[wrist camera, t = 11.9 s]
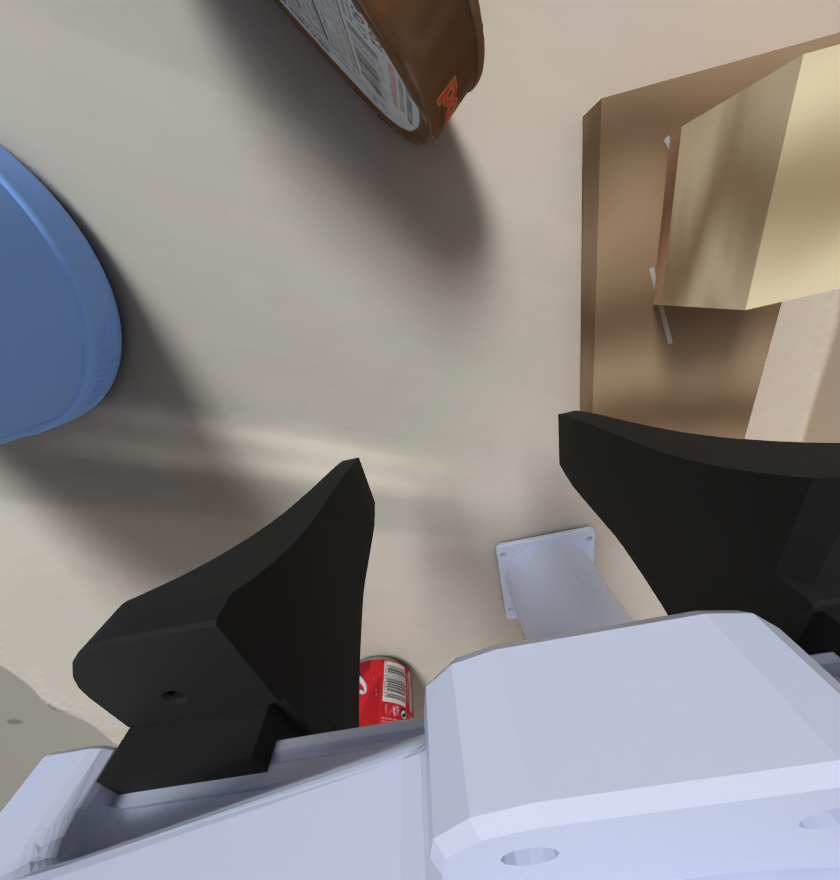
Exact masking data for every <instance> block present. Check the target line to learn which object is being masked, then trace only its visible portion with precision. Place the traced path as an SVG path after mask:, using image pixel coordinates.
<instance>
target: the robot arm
mask: <svg viewBox="0 0 840 880" xmlns="http://www.w3.org/2000/svg"><path fill="white" fill-rule="evenodd" d="M558 419H559V460H560V466H561V467H562V469H563V471H564V473H565V474H566V476H567V478H568V479H569V481H570V482H571V484H572V485H573V487H574V488H575V489H576V490H577V492H578V493H579V494H580V495H581V496H582V498H583V499H584V500H585V501H586V502H587V504H588V505H589V506H590V507H591V508H592V509H593V511H594V512H595V513H596V514H597V515H598V516H599V518H600V519H601V520H602V521H603V522H604V523H605V525H606V526H607V527H608V528H609V529H610V530H611V532H612V533H613V534H614V535H615V536H616V538H617V539H618V540H619V542H620V543H621V544H622V545H623V547H624V548H625V550H626V551H627V553H628V554H629V556H630V557H631V559H632V560H633V561H634V563H635V564H636V566H637V567H638V569H639V570H640V572H641V573H642V575H643V576H644V578H645V579H646V581H647V582H648V584H649V586H650V587H651V589H652V590H653V592H654V593H655V595H656V596H657V598H658V600H659V601H660V603H661V604H662V606H663V608H664V609H665V611H666V613H667V614H668V616H662V617H656V618H650V619H644V620H639V621H632V620H631V618H630V617H629V615H628V614H627V612H626V611H625V610H624V608H623V607H622V605H621V604H620V602H619V601H618V599H617V598H616V596H615V595H614V593H613V592H612V590H611V589H610V588H609V586H608V585H607V583H606V582H605V580H604V579H603V577H602V576H601V574H600V573H599V571H598V570H597V568H596V567H595V565H594V549H595V531H594V530H593V528H592V527H583V528H578V529H572V530H567V531H562V532H557V533H552V534H546V535H541V536H536V537H531V538H526V539H520V540H515V541H510V542H505V543H500V544H498V545H497V546H496V547H495V550H496V557H497V563H498V570H499V576H500V583H501V589H502V596H503V602H504V609H505V614H506V617H507V618H508V619H516V618H518V620H519V623H520V626H521V629H522V632H523V635H524V638H525V640H523V641H517V642H511V643H505V644H499V645H494V646H491V647H488V648H485V649H482V650H479V651H476V652H473V653H470V654H467V655H464V656H461V657H458V658H456V659H455V660H454V661H452V662H451V663H450V664H449V665H448V666H447V667H446V668H445V669H444V670H442V671H441V672H440V673H439V674H438V675H437V676H436V677H435V678H434V679H433V680H432V681H431V682H430V683H429V684H428V686H427V687H426V692H425V703H424V717H420V718H413V719H407V720H401V721H395V722H388V723H382V724H376V725H370V726H363V727H359V682H360V645H361V622H362V606H363V592H364V584H365V578H366V572H367V566H368V560H369V555H370V549H371V543H372V537H373V531H374V518H375V502H374V499H373V496H372V493H371V491H370V488H369V485H368V482H367V479H366V477H365V474H364V471H363V468H362V465H361V463H360V460H359V458H355V459H350V460H345V461H342V462H341V463H339V464H338V465H337V466H336V467H335V468H333V469H332V470H331V471H330V472H329V473H328V474H327V475H326V476H325V477H324V478H323V479H322V480H321V481H320V482H319V483H318V484H316V485H315V486H314V487H313V488H312V489H311V490H310V491H309V492H308V493H307V494H306V495H304V496H303V497H302V498H301V499H300V500H299V501H297V502H296V503H295V504H294V505H293V506H292V507H291V508H289V509H288V510H287V511H286V512H284V513H283V514H282V515H281V516H279V517H278V518H277V519H275V520H274V521H273V522H271V523H270V524H269V525H267V526H266V527H264V528H263V529H262V530H260V531H259V532H257V533H256V534H254V535H252V536H251V537H249V538H248V539H246V540H245V541H243V542H241V543H240V544H238V545H237V546H235V547H233V548H232V549H230V550H229V551H227V552H225V553H224V554H222V555H220V556H218V557H216V558H215V559H213V560H211V561H209V562H207V563H206V564H204V565H202V566H200V567H198V568H196V569H194V570H192V571H190V572H189V573H187V574H185V575H183V576H181V577H179V578H177V579H174V580H172V581H170V582H168V583H166V584H164V585H161V586H159V587H157V588H155V589H153V590H151V591H149V592H146V593H144V594H142V595H140V596H138V597H136V598H133V599H131V600H129V601H126V602H125V603H124V604H122V605H121V606H120V607H119V608H118V609H117V610H116V612H115V613H114V614H113V615H112V616H111V617H110V618H109V619H108V620H107V621H106V623H105V624H104V625H103V626H102V627H101V628H100V629H99V630H98V631H97V632H96V634H95V635H94V636H93V637H92V638H91V639H90V640H89V641H88V642H87V644H86V645H85V646H84V647H83V648H82V649H81V650H80V651H79V652H78V654H77V656H76V657H75V659H74V661H73V678H74V680H75V682H76V683H77V685H78V687H79V688H80V689H81V690H82V691H83V692H84V693H85V694H86V695H87V696H88V697H89V698H90V699H92V700H93V701H94V702H96V703H97V704H98V705H100V706H101V707H102V708H104V709H105V710H106V711H108V712H109V713H110V714H112V715H113V716H114V717H116V718H117V719H118V720H120V721H121V722H122V723H124V724H125V725H127V726H128V727H130V729H129V730H128V732H127V734H126V735H125V737H124V738H123V740H122V741H121V743H120V745H119V746H118V748H115V747H111V746H105V745H104V746H103V745H102V746H91V747H85V748H79V749H73V750H67V751H61V752H55V753H51V754H49V755H47V756H45V757H44V758H43V759H42V760H41V761H40V763H39V764H38V765H37V767H36V768H35V769H34V770H33V772H32V773H31V774H30V776H29V777H28V778H27V779H26V781H25V782H24V783H23V785H22V786H21V787H20V788H19V790H18V791H17V792H16V794H15V795H14V796H13V798H12V799H11V800H10V802H9V803H8V804H7V805H6V807H5V808H4V809H3V810H2V812H1V813H0V880H840V443H802V442H778V441H762V440H748V439H735V438H725V437H716V436H708V435H700V434H692V433H686V432H679V431H673V430H668V429H663V428H657V427H652V426H647V425H643V424H638V423H633V422H629V421H625V420H620V419H616V418H612V417H608V416H603V415H599V414H594V413H590V412H584V411H572V412H568V413H563V414H558ZM501 553H503V554H501Z"/></svg>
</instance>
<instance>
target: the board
mask: <svg viewBox="0 0 840 880" xmlns="http://www.w3.org/2000/svg"><path fill="white" fill-rule="evenodd" d="M839 44H840V33H837V34H833V35H829V36H826V37H822V38H819V39H815V40H811V41H808V42H804V43H800V44H797V45H793V46H790V47H786V48H782V49H779V50H775V51H772V52H768V53H764V54H761V55H757V56H753V57H750V58H746V59H743V60H739V61H735V62H732V63H728V64H724V65H721V66H717V67H714V68H710V69H706V70H703V71H699V72H696V73H692V74H688V75H685V76H681V77H677V78H674V79H670V80H667V81H663V82H659V83H656V84H652V85H649V86H645V87H641V88H638V89H634V90H630V91H627V92H623V93H620V94H616V95H612V96H609V97H605V98H602V99H601V100H600V101H599V102H597V103H596V104H595V105H594V106H593V107H592V108H591V109H590V110H589V111H588V112H587V113H586V114H585V115H584V116H583V181H582V285H581V388H580V411H584V412H590V413H594V414H599V415H603V416H608V417H612V418H616V419H620V420H625V421H629V422H633V423H638V424H643V425H647V426H652V427H657V428H663V429H668V430H673V431H679V432H686V433H692V434H700V435H708V436H716V437H725V438H735V439H744V438H745V434H746V430H747V427H748V423H749V420H750V416H751V412H752V409H753V405H754V401H755V398H756V394H757V390H758V387H759V383H760V379H761V376H762V372H763V368H764V365H765V361H766V357H767V354H768V350H769V346H770V343H771V339H772V336H773V332H774V328H775V325H776V321H777V317H778V314H779V310H780V306H781V303H782V302H779V303H775V304H770V305H766V306H761V307H757V308H753V309H748V310H734V309H717V308H701V307H684V306H667V305H653V299H654V290H655V280H656V270H657V261H658V251H659V241H660V231H661V222H662V212H663V202H664V193H665V183H666V173H667V163H668V154H669V144H670V134H671V133H672V132H673V131H675V130H677V129H678V128H680V127H682V126H683V125H685V124H687V123H689V122H690V121H692V120H694V119H695V118H697V117H699V116H700V115H702V114H704V113H705V112H707V111H709V110H710V109H712V108H714V107H715V106H717V105H719V104H721V103H722V102H724V101H726V100H727V99H729V98H731V97H732V96H734V95H736V94H737V93H739V92H741V91H742V90H744V89H746V88H747V87H749V86H751V85H752V84H754V83H756V82H758V81H759V80H761V79H763V78H764V77H766V76H768V75H769V74H771V73H773V72H774V71H776V70H778V69H779V68H781V67H783V66H784V65H786V64H788V63H790V62H791V61H793V60H795V59H796V58H798V57H800V56H801V55H803V54H806V53H810V52H813V51H817V50H820V49H824V48H828V47H831V46H835V45H839Z"/></svg>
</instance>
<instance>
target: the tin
mask: <svg viewBox="0 0 840 880" xmlns="http://www.w3.org/2000/svg"><path fill="white" fill-rule="evenodd" d="M276 1H277V3H278V4H279V5H280V6H281V7H282V8H283V10H284V11H285V12H286V13H287V14H288V15H289V16H290V18H291V19H292V20H293V21H294V22H295V23H296V24H297V26H298V27H299V28H300V29H301V30H302V31H303V32H304V33H305V35H306V36H307V37H308V38H309V39H310V40H311V41H312V42H313V44H314V45H315V46H316V47H317V48H318V49H319V50H320V51H321V53H322V54H323V55H324V56H325V57H326V58H327V59H328V60H329V62H330V63H331V64H332V65H333V66H334V67H335V68H336V69H337V70H338V71H339V73H340V74H341V75H342V76H343V77H344V78H345V79H346V80H347V81H348V83H349V84H350V85H351V86H352V87H353V88H354V89H355V90H356V92H357V93H358V94H359V95H360V96H361V97H362V98H363V99H364V100H365V101H366V102H367V103H368V104H369V105H370V106H371V107H372V109H373V110H374V111H375V112H376V113H377V114H378V115H379V116H380V117H381V118H382V119H383V120H385V121H386V122H387V123H388V124H389V125H390V126H391V127H392V128H393V129H394V130H395V131H397V132H398V133H399V134H400V135H402V136H403V137H404V138H406V139H408V140H409V141H411V142H413V143H415V144H418V145H426V144H428V143H430V142H432V141H433V140H434V139H435V138H437V136H438V135H439V134H440V133H441V131H442V130H443V129H444V127H445V126H446V124H447V123H448V121H449V119H450V118H451V116H452V115H453V113H454V112H455V110H456V109H457V107H458V106H459V104H460V103H461V101H462V100H463V98H464V97H465V95H466V94H467V93H468V92H470V91H471V90H473V89H474V87H475V86H476V85H477V83H478V81H479V80H480V77H481V74H482V71H483V64H484V50H485V49H484V35H483V24H482V19H481V13H480V6H479V1H478V0H276Z"/></svg>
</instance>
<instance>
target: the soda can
mask: <svg viewBox="0 0 840 880" xmlns="http://www.w3.org/2000/svg"><path fill="white" fill-rule="evenodd" d="M407 719H413V690H412V680H411V673H410V671H409V670H408V669H407V668H406V667H405V666H404V665H402V664H401V663H400V662H398V661H397V660H395V659H393V658H390V657H386V656H374V657H370V658H367V659H364V660H363V661H361V662H360V682H359V727H363V726H370V725H376V724H382V723H388V722H395V721H401V720H407Z"/></svg>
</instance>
